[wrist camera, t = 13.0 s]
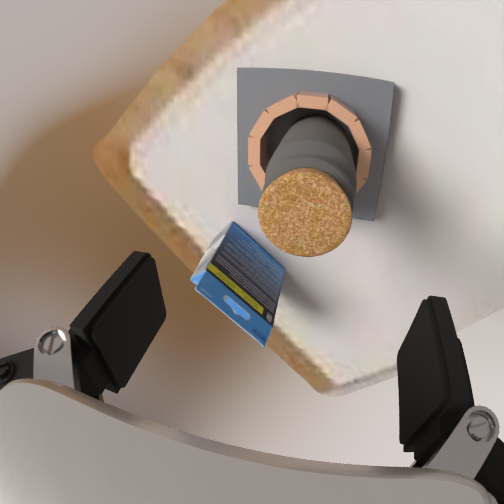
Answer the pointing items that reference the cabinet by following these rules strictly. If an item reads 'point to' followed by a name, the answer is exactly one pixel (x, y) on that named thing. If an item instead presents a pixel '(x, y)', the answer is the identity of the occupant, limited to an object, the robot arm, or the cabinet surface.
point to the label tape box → (241, 281)
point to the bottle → (309, 188)
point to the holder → (309, 103)
